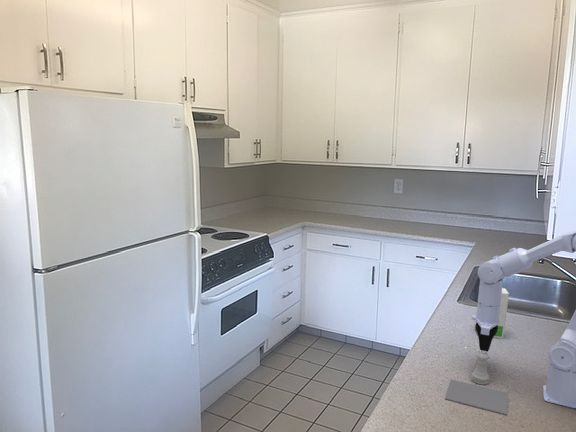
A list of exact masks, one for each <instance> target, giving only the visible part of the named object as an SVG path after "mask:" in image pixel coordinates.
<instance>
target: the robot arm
mask: <svg viewBox="0 0 576 432" xmlns="http://www.w3.org/2000/svg"><path fill="white" fill-rule="evenodd" d="M560 252H566V253H570V254H573V253H575V252H576V230H574V231H570V232H566V233H563V234H561V235H558V236H557V237H556V236H555V237H554V238H552V239H550V240H548V241H546V242H543V243H541V244H539V245H536V246H535V247H532V248H530V249H525V248H521V247H518V248H516V247H513V248H510V249H509V250H508V252H506V253H504V254H502V255H495V256H493V257H492V259H490V260H488V261H484V262H483V263H481V264H480V265H479V267H478V268H477V276H478V278H479V285H478V295H477V297H478V298H477V307H476V314H472V316H471V320H473V321H475V323H476V321H477V323H476V325H474V330H475V329H476V330H475V332H476V331H477V332H476V335H477V334H478V335H477V336H478V338H477V339H478V344H479V345H478V346H479V351H483V352H487V353H488V352H490V348H491V344H492V341H493V339H494V338H493V337H494V336H495V334H496V333H497V330H498V324H499V314H500V304H501V295H502V288H503V281H504V280H505V278H508V277H511V276H514V275H517V274H519V273H522V272H524V271H527V270H530V269H531V268H532V266H533V264H534V262H535V261H539V260H540V259H544V258H547V257H548V256H551V255H555V254H556V253H560ZM548 358H549V362H548V369H547V378H546V384H545V385H543V386H542V389H543V390H542V393H543V400H544V401H545V402H547V403H552V404H555V405H560V406H564V407H568V408H572V409H576V309H575V311H574V313H573V314H572V317H571V318H570V320H569V323H568V324H567V327H566V328H565V330H564V332H563V333H562V335H561V336H560V338H559V339H558V341H557V342H556V343H555V344H554V345H552V346H551V347H550V348H549V351H548Z"/></svg>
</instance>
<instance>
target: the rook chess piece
mask: <svg viewBox="0 0 576 432" xmlns="http://www.w3.org/2000/svg"><path fill="white" fill-rule="evenodd" d="M475 357H476V360H475V362H476V366H475V369H474V370H473V372H472V373H471V381H472V382H473V383H474V384H476V385H477V384H478V385H479V386H480V385H483V386H484V385H485V386H486V385H488V384H489V382H490V377H489V373H488V369H487V365H488V364H489V363H488V360H489V359H490V356H489V353H488V352H487V351H482V350H478V351H477V353H476V354H475Z"/></svg>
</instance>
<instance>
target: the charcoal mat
mask: <svg viewBox="0 0 576 432" xmlns="http://www.w3.org/2000/svg"><path fill="white" fill-rule="evenodd" d="M444 400H445V401H450V402H454V403H458V404H462V405H465V406H468V407H472V408H477V409H481V410H484V411H489V412H492V413H496V414H500V415H504V416H508V406H509V405H508V404H509V392H506V391H501V390H498V389H493V388H489V387H485V386H480V385H477V384H472V383H468V382H463V381H461V380H456V379H450V381H449V383H448V387H447V391H446V393H445V396H444Z"/></svg>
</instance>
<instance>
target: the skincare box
mask: <svg viewBox="0 0 576 432" xmlns="http://www.w3.org/2000/svg"><path fill="white" fill-rule="evenodd" d="M509 296H510V292H508V290H507V289H506V288H505V287H502V295H501V304H500V314H499V324H498V330H497V333H496V334H495V336H494V337H493V339H494V338H495V339H500V340H501V339H502V340H503V339H504V335H505V329H506V327H505V326H506V321H507V311H508V305H509V299H510V298H509ZM476 323H477V321H476V320H475V325H476ZM475 325H474V326H475ZM474 330H475V332H476V335H477V336H478V334H477V331H476V329H475V328H474Z"/></svg>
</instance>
